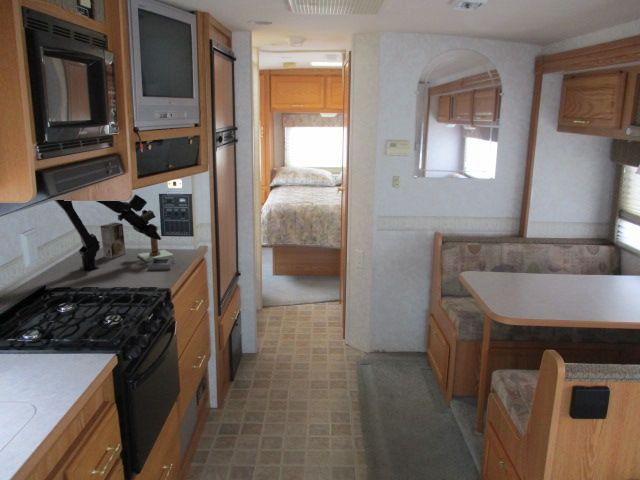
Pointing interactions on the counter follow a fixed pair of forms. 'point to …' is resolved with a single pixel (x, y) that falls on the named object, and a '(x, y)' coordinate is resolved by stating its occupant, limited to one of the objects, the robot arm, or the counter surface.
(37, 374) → the counter surface
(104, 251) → the coffee box
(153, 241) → the brown wooden column
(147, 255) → the pale green flat slab
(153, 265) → the lock plate
